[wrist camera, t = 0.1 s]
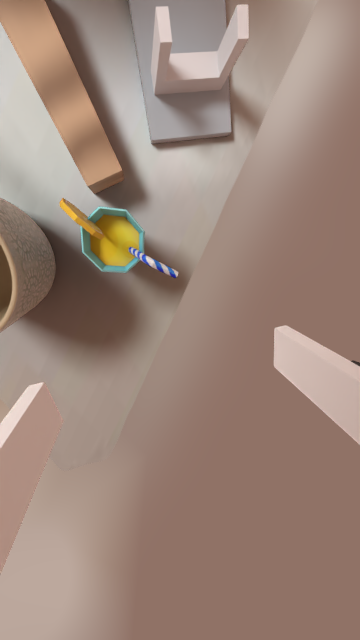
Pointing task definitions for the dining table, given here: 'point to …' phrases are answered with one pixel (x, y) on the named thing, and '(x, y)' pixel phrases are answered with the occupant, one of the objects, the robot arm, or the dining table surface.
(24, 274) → the planter
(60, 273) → the dining table surface
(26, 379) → the dining table surface
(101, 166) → the rail
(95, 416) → the dining table surface
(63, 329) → the dining table surface
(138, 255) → the cup
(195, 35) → the bracket board
